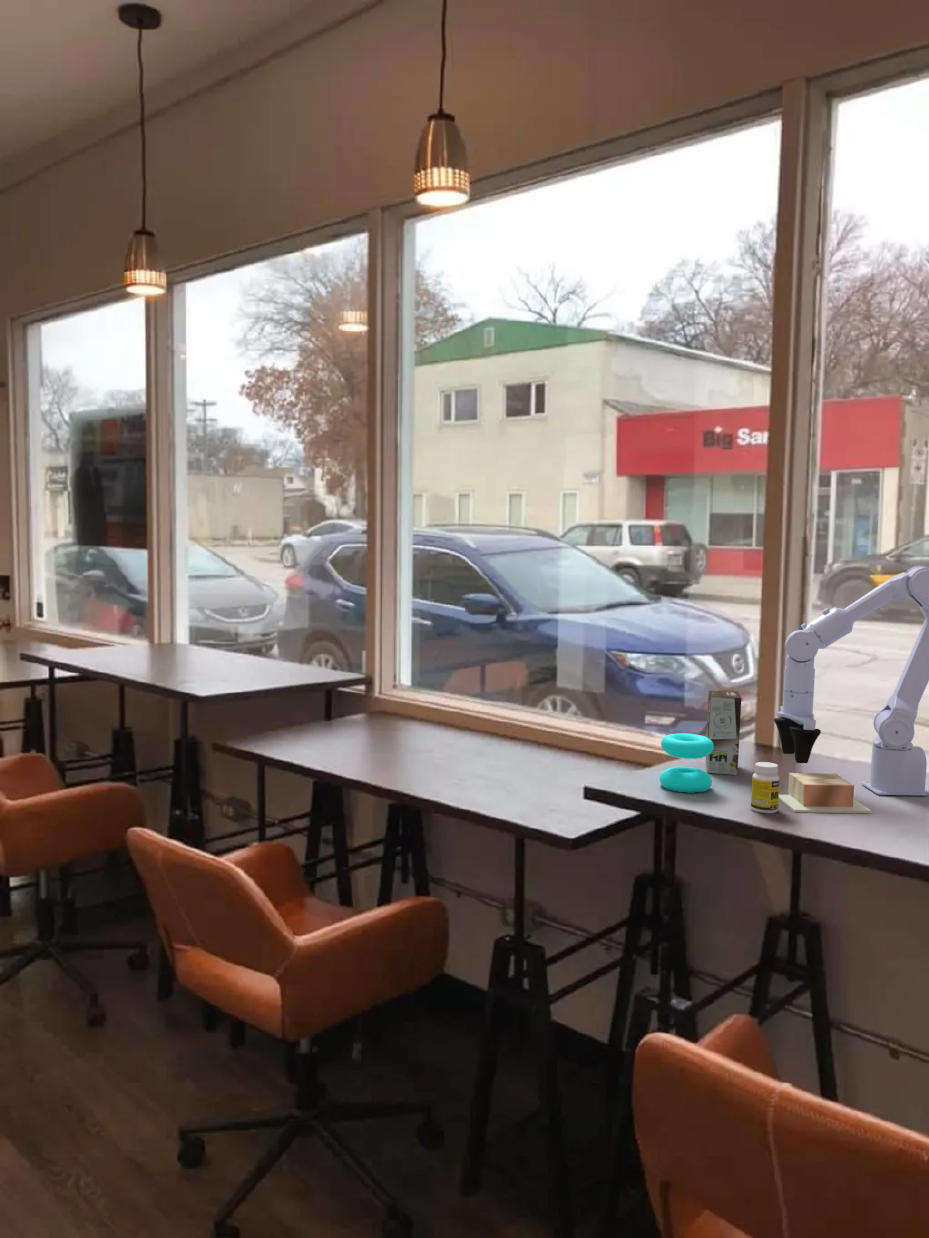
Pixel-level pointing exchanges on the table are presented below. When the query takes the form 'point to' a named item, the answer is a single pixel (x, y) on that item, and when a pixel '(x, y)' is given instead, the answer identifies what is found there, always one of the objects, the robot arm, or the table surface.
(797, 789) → the birch slab
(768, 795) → the supplement bottle
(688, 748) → the donuts
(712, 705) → the coffee box
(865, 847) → the table surface
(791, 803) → the green board
